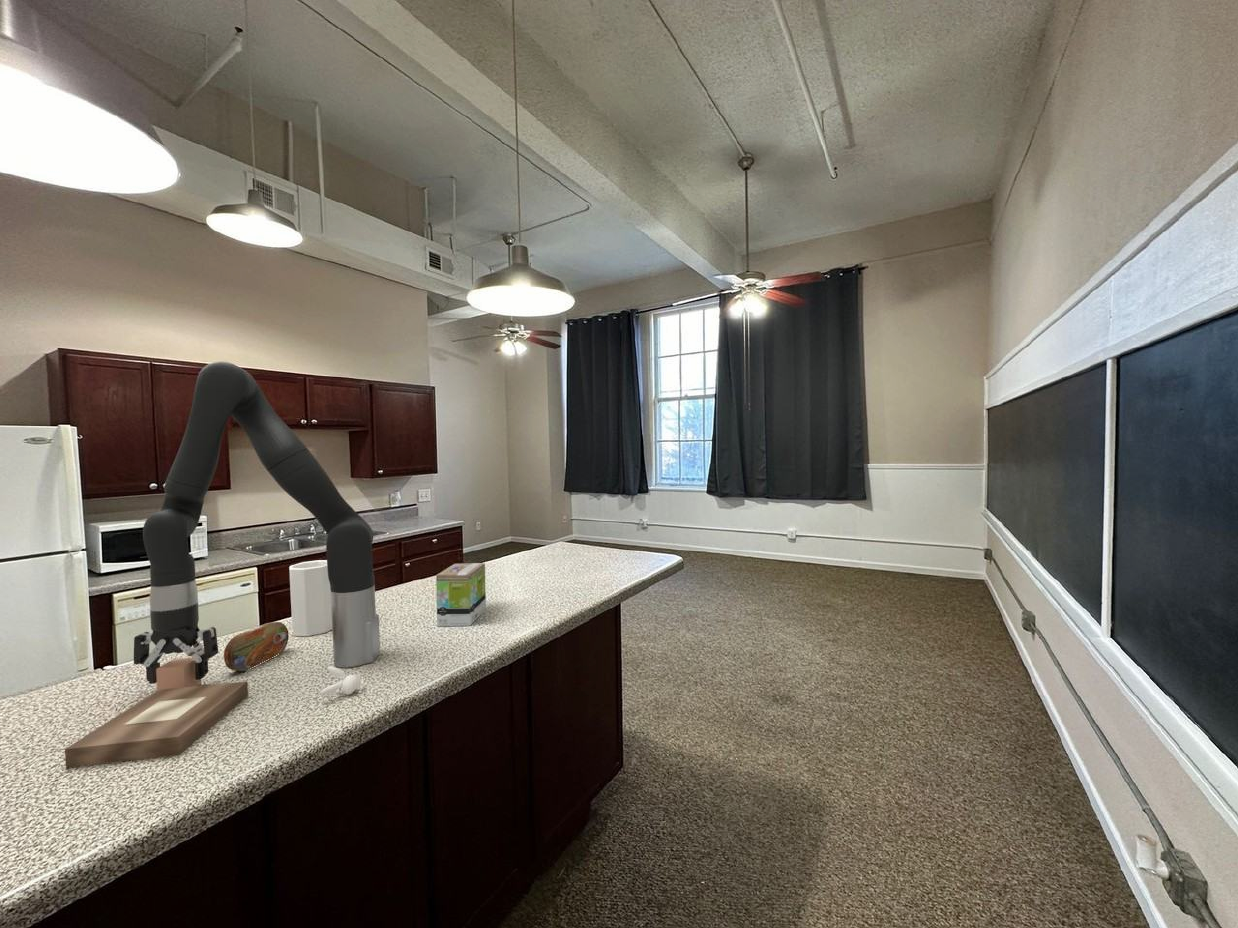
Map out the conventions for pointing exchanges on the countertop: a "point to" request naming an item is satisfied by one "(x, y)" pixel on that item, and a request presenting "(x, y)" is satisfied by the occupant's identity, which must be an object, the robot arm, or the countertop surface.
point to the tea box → (460, 594)
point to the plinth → (158, 725)
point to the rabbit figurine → (343, 682)
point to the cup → (310, 598)
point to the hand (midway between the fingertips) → (177, 680)
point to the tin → (256, 646)
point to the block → (177, 674)
